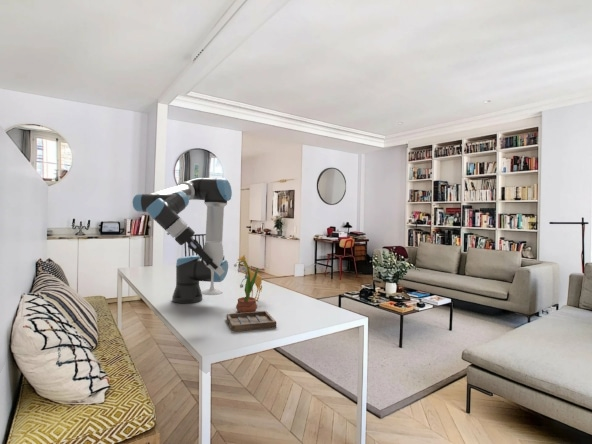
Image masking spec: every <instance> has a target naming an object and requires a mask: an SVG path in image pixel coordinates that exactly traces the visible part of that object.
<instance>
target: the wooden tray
mask: <svg viewBox="0 0 592 444" xmlns="http://www.w3.org/2000/svg"><path fill="white" fill-rule="evenodd" d="M225 318H226V321H227V324H228V326H229V328H230V330H231V332H232V333H233V332H234V333H236V332H237V333H238V332H245V331H246V332H247V331H255V330H264V329H265V330H266V329H267V330H268V329H269V330H270V329H276V328H277V321H276V319H275V318H274V317H273V316H272V315H271V314H270V313H269V312H268V311H267V310H260V311H257V310H256V311H254V312H244V313H241V312H235V313H234V312H231V313H226V317H225Z"/></svg>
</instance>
